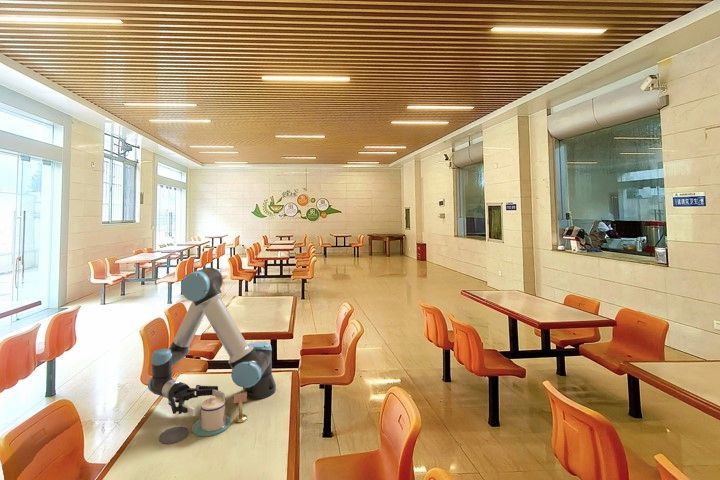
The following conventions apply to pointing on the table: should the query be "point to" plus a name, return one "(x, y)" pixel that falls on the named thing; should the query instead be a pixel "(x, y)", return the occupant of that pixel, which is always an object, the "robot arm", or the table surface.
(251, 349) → the robot arm
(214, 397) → the teacup with lid
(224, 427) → the teal coaster
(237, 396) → the brass tag sign
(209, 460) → the table surface
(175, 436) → the charcoal coaster
